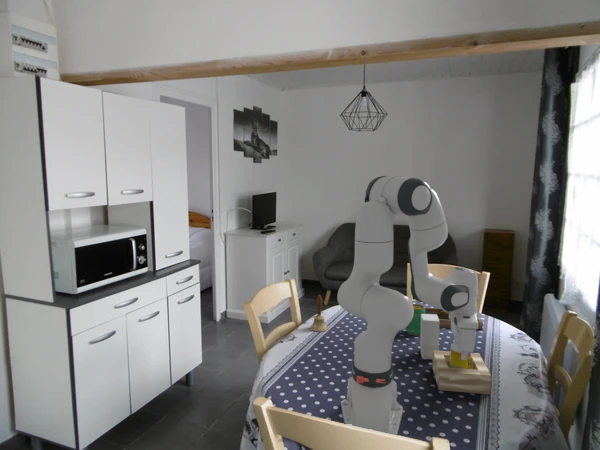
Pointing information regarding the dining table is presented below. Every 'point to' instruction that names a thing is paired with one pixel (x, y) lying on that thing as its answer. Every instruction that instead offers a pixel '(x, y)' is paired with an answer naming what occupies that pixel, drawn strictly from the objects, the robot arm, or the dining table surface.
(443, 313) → the kendama
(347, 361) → the dining table surface
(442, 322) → the walnut tray frame
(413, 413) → the dining table surface
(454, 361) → the supplement bottle
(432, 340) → the skincare box
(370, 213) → the robot arm
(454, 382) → the birch tray frame
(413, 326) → the beverage can
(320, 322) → the hand bell
